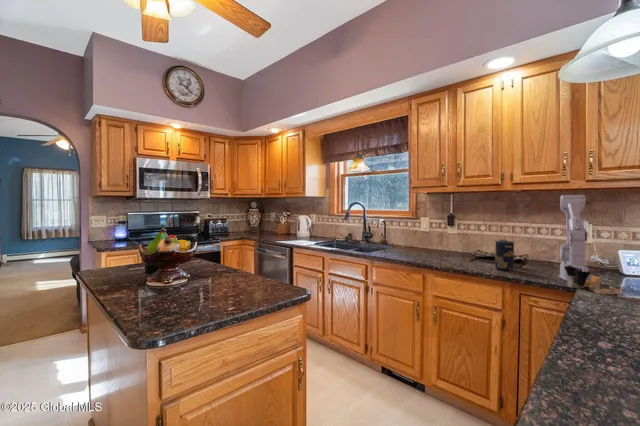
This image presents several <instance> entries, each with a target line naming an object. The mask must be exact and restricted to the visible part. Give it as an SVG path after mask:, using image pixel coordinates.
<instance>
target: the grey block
mask: <svg viewBox="0 0 640 426" xmlns="http://www.w3.org/2000/svg"><path fill="white" fill-rule="evenodd" d="M566 285H567V287H569V288H571V289H572V288H573V289H585V288H584V286H578V283H577V276H569V275H567V281H566Z"/></svg>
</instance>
